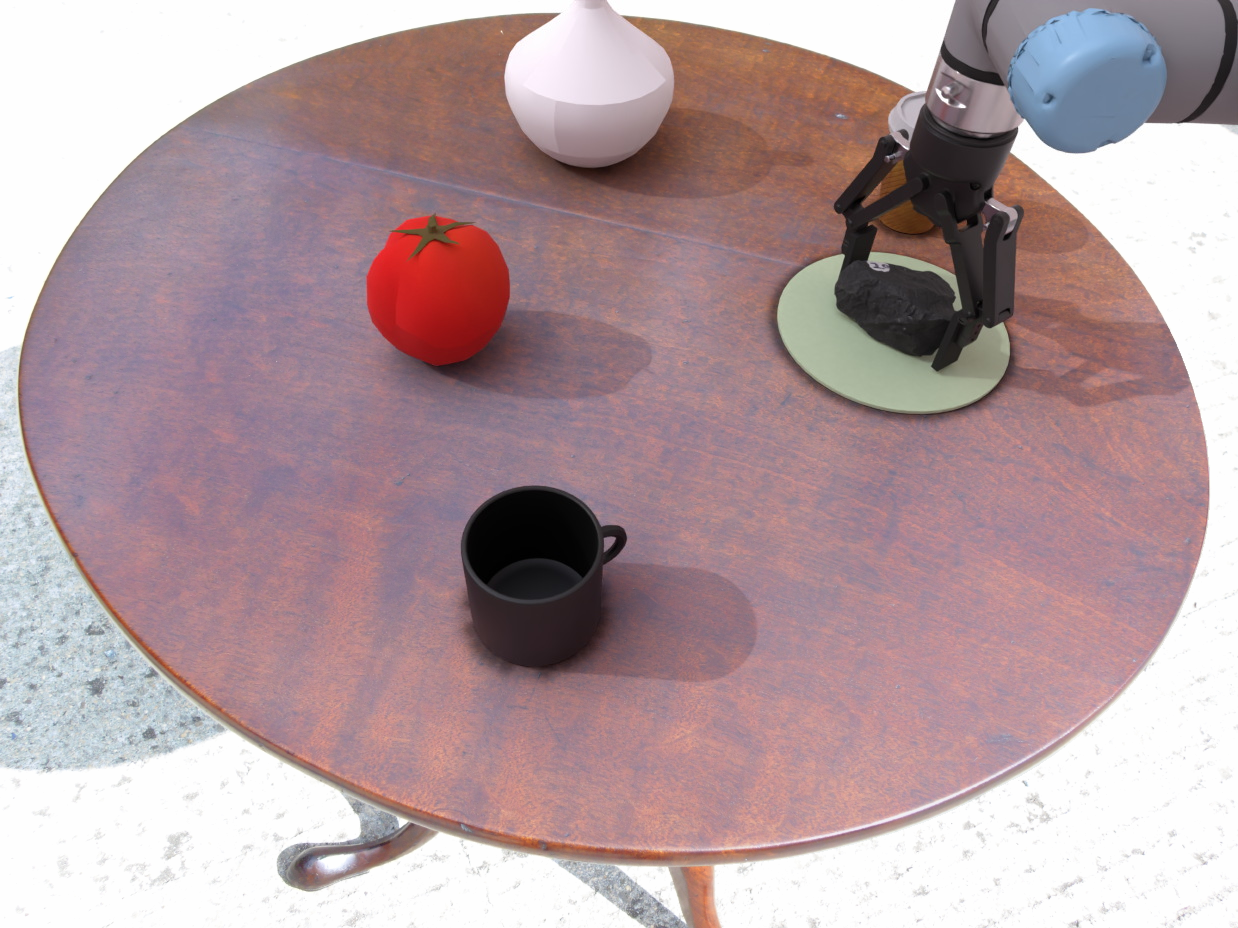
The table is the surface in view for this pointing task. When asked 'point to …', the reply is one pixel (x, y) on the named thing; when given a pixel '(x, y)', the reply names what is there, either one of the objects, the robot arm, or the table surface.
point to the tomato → (438, 289)
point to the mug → (536, 573)
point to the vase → (589, 86)
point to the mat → (881, 348)
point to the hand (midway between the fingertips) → (894, 323)
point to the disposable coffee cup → (904, 214)
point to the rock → (897, 304)
